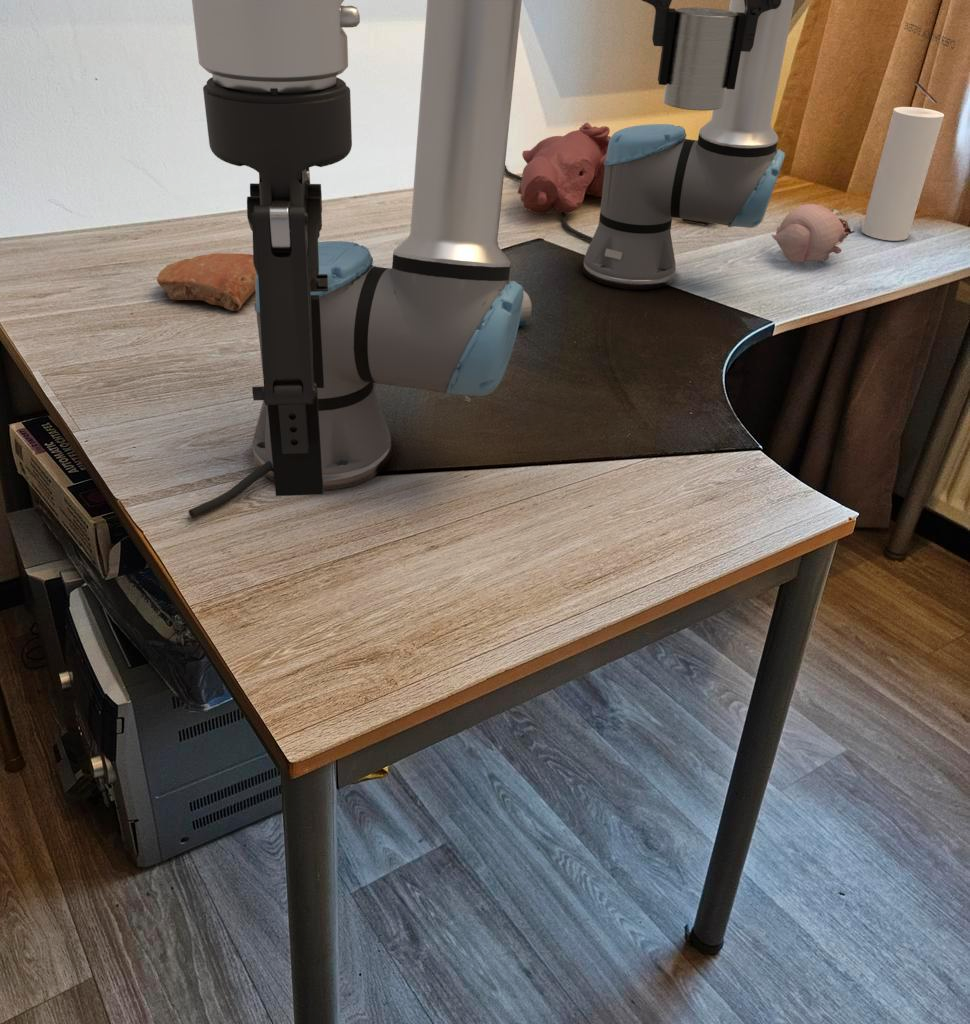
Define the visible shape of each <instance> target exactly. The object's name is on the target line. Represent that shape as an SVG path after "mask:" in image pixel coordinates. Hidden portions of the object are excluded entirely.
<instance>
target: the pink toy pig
mask: <svg viewBox="0 0 970 1024" xmlns="http://www.w3.org/2000/svg"><path fill="white" fill-rule="evenodd" d="M610 130H611V129H610V127H608V126H607V125H605V126H604V125H602V126H600V127H598V126H592V125H591V124H590V123H589V122H585V123H584V124H581V126H580V127H579V129H576V130H573V131H570V132H568V133H566V134H565V135H554V136H549V137H546V138H544V139H542V140H540V141H539V142H538V143H536V145H535V146H534V147H532V148H531V149H529V150H523V151H522V153H521V156H522V158H523V160H524V162H525V163H526V164H525V166H524V168H523V170H522V172H521V173H522V174H521V177H522V180H521V181H520V185H519V186H518V189H517V194H518V195H520V200H521V202H522V203H523V207H524V209H525V210H529V211H530V212H532V213H535V214H546V213H549V212H551V211H552V210H553V209H554V208H555V209H556V210H557V211H559V212H560V213H561V212H564V213H566V214H569V213H573V212H575V211H578V209H579V208H581V206H582V203H584V199H585V195H591V196H593V197H596V198H599V197H601V198H602V190H603V181H604V171H605V164H604V162H605V160H606V156H607V150H608V144H609V140H610V138H611V136H610V135H609V134H610Z"/></svg>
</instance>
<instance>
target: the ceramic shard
mask: <svg viewBox="0 0 970 1024" xmlns="http://www.w3.org/2000/svg"><path fill="white" fill-rule="evenodd" d="M255 277H256V270H255V267H254V263H253V254H251V253H210V254H203V255H196V256H194V257H191V258H184V259H181V260H178V261H176V262H173V263H169V264H167V265H166V266H165V267H164V268H163V269H162V270H160V272H159V273H158V275H157V277H156V282H157V284H158V285H159V286H160V287H161V288H162V289H163V290H164V291H165V293H166V295H167V296H168V297H169V299H170V300H171V301H204V302H206V303H207V304H209V305H214V306H218V307H219V306H220V307H222V308H224V309H226V310H228V311H231V312H232V311H233V312H236V311H239V310H240V309H241V308H242V307H243V305H244V304H245V302H246V301H247V300H248V299H249V298H250V297H251V296H252V294H253V293H255V292H256V289H255Z"/></svg>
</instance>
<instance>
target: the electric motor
mask: <svg viewBox="0 0 970 1024" xmlns="http://www.w3.org/2000/svg"><path fill="white" fill-rule="evenodd" d="M523 292H524V296H523V301H522V312H521V317H520V322H519V327H521V326H524V324H525V322H526V321H527V320H528V319H530V317H531V315H532V310H533V308H532V307H533V306H532V301H531V298H530V296H529V294H528V293H527V292H526V291H525V290H524V289H523Z"/></svg>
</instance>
